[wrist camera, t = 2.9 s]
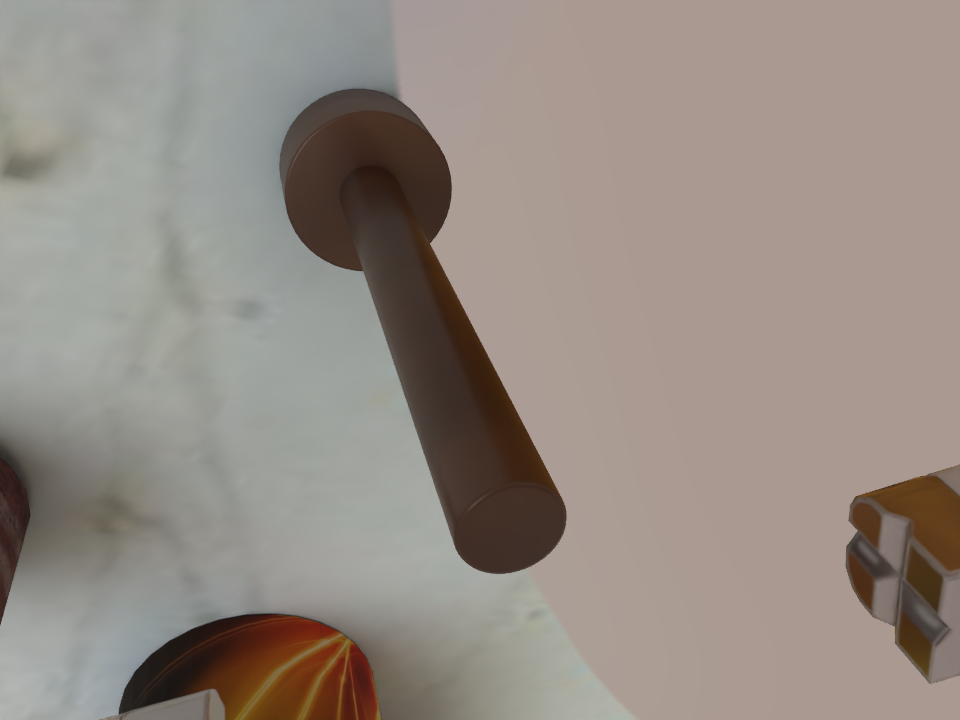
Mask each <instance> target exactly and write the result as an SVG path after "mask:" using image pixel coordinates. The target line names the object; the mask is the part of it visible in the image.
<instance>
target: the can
mask: <svg viewBox="0 0 960 720" xmlns="http://www.w3.org/2000/svg"><path fill="white" fill-rule="evenodd" d="M29 518H30V510H29V505H28V499H27V493H26V489H25V488H24V486H23V485H22V483H21V482H20V480H19V478H18V477H17V475H16V474H15V472H14V471H13V469H12V468H11V466H10V465H9V464H8V463H7V462H6V461H5V460H4V459H3V458H1V457H0V624H1V621H2V617H3V614H4V610H5V606H6V603H7V599H8V595H9V592H10V588H11V584H12V581H13V577H14V573H15V570H16V566H17V563H18V559H19V555H20V552H21V548H22V544H23V541H24V537H25V533H26V529H27V526H28V522H29Z"/></svg>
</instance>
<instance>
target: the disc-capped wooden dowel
mask: <svg viewBox="0 0 960 720" xmlns="http://www.w3.org/2000/svg"><path fill="white" fill-rule="evenodd" d="M280 177H281V182H282V188H283V193H284V199H285V204H286V209H287V214H288V217H289V219H290V222H291V224H292V226H293V228H294V230H295V232H296V234H297V235H298V237H299V238H300V239H301V241H302V242H303V243H304V244H305V245H306V246H307V247H308V248H309V249H310V250H311V251H312V252H313V253H314V254H316V255H317V256H318V257H320V258H322V259H323V260H325V261H327V262H329V263H331V264H333V265H335V266H338V267H342V268H345V269H350V270H355V271H364V274H365V277H366V280H367V283H368V286H369V289H370V292H371V295H372V298H373V301H374V304H375V307H376V310H377V313H378V316H379V319H380V323H381V326H382V329H383V332H384V335H385V338H386V341H387V344H388V347H389V350H390V353H391V356H392V359H393V362H394V365H395V368H396V371H397V374H398V377H399V380H400V383H401V386H402V389H403V392H404V395H405V398H406V401H407V404H408V407H409V410H410V413H411V416H412V419H413V422H414V425H415V428H416V431H417V434H418V437H419V440H420V443H421V446H422V449H423V452H424V455H425V458H426V461H427V464H428V467H429V470H430V473H431V476H432V479H433V482H434V485H435V488H436V491H437V494H438V497H439V500H440V503H441V506H442V509H443V512H444V515H445V518H446V521H447V524H448V527H449V530H450V533H451V536H452V539H453V542H454V545H455V548H456V550H457V552H458V554H459V555H460V557H461V558H462V559H463V560H464V561H465V562H466V563H467V564H469V565H470V566H472V567H473V568H475V569H477V570H480V571H483V572H487V573H493V574H505V573H512V572H516V571H520V570H523V569H526V568H528V567H530V566H532V565H534V564H535V563H537V562H539V561H540V560H542V559H543V558H545V557H546V556H547V555H548V554H549V553H550V552H551V551H552V550H553V549H554V548H555V547H556V545H557V544H558V542H559V541H560V539H561V537H562V535H563V533H564V530H565V526H566V508H565V505H564V502H563V500H562V498H561V496H560V494H559V492H558V490H557V488H556V486H555V484H554V483H553V481H552V479H551V477H550V475H549V473H548V471H547V469H546V467H545V465H544V463H543V461H542V460H541V457H540V455H539V454H538V452H537V450H536V448H535V446H534V444H533V442H532V440H531V438H530V436H529V434H528V432H527V430H526V428H525V426H524V425H523V423H522V421H521V419H520V417H519V415H518V413H517V411H516V409H515V407H514V405H513V404H512V401H511V399H510V398H509V396H508V394H507V392H506V390H505V388H504V386H503V384H502V382H501V380H500V378H499V376H498V374H497V372H496V371H495V369H494V367H493V365H492V363H491V361H490V359H489V357H488V355H487V353H486V351H485V349H484V347H483V345H482V343H481V342H480V340H479V338H478V336H477V334H476V332H475V330H474V328H473V326H472V324H471V322H470V320H469V319H468V316H467V315H466V313H465V311H464V309H463V307H462V305H461V303H460V301H459V299H458V297H457V295H456V293H455V291H454V290H453V287H452V286H451V284H450V282H449V280H448V278H447V276H446V274H445V272H444V270H443V268H442V266H441V264H440V262H439V260H438V259H437V257H436V255H435V253H434V251H433V249H432V247H431V245H430V243H431V242H432V240H433V239H434V238H435V237H436V235H437V234H438V232H439V231H440V229H441V227H442V226H443V223H444V221H445V219H446V217H447V213H448V210H449V207H450V201H451V190H452V185H451V176H450V172H449V168H448V164H447V161H446V159H445V156H444V154H443V153H442V151H441V149H440V147H439V146H438V145H437V143H436V141H435V140H434V139H433V138H432V136H431V134H430V133H429V132H428V130H427V129H426V127H425V126H424V125H423V123H422V122H421V121H420V119H419V118H418V117H417V115H416V114H415V113H414V112H413V111H412V110H411V109H410V108H409V107H407V106H406V105H405V104H403V103H402V102H400V101H399V100H397V99H395V98H394V97H391V96H389V95H387V94H384V93H381V92H377V91H373V90H366V89H350V90H343V91H339V92H335V93H332V94H329V95H327V96H325V97H322V98H320V99H319V100H317V101H315V102H314V103H312V104H311V105H310V106H308V107H307V108H306V109H305V110H304V111H303V112H302V113H301V114H300V115H299V116H298V117H297V118H296V120H295V121H294V122H293V124H292V125H291V127H290V129H289V130H288V132H287V134H286V137H285V139H284V142H283V145H282V149H281V154H280Z"/></svg>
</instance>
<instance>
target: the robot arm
mask: <svg viewBox="0 0 960 720" xmlns="http://www.w3.org/2000/svg"><path fill="white" fill-rule="evenodd" d="M849 522H851V524H852V525H853V526H854V527H855V528H856V529H857V530H858V531H857V533H856V534H855V536H854V537H853V539H852V540H851V541H850V542H849V544H848V545H847V547H846V569H847V572H848V576H849V579H850V582H851V586H852V588H853V590H854V592H855V593H856V595H857V597H858V599H859V600H860V602H861V603H862V605H863V606H864V607H865V608H866V609H867V611H868V612H869V613H870V614H871V615H872V617H874V618H876V619H879V620H881V621H883V622H885V623H888V624H890V625H892V626H895V644H896V645H897V646H898V647H899V649H900V650H901V651H902V652H903V653H904V654H905V656H906V657H907V658H908V659H909V660H910V661H911V663H912V664H913V665H914V666H915V667H916V668H917V669H918V671H919V672H920V673H921V674H922V675H923V676H924V678H926V680H927V681H928V682H929V683H930V684H932V683H935V682H939V681H942V680H945V679H949V678H952V677H956V676H959V675H960V465H957V466H954V467H950V468H947V469H944V470H941V471H937V472H934V473H931V474H928V475H926V476H921V477H917V478H914V479H911V480H907V481H904V482H901V483H898V484H894V485H891V486H888V487H885V488H882V489H879V490H875V491H872V492H869V493H865V494H862V495H859V496H856V497H855V499H854V500H853V502H852V503H851V505H850V512H849ZM100 720H225V707H224V705H223V703H222V701H221V699H220V697H219V695H218V693H217V691H216V690H215V689H208V690H204V691H201V692H197V693H193V694H190V695H186V696H182V697H179V698H175V699H171V700H167V701H164V702H160V703H156V704H153V705H149V706H145V707H142V708H138V709H134V710H131V711H127V712H125V713H122V714H119V715H115V716H111V717H108V718H104V719H100Z"/></svg>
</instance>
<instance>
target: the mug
mask: <svg viewBox="0 0 960 720" xmlns="http://www.w3.org/2000/svg"><path fill="white" fill-rule="evenodd" d="M208 689H215V690H216V691H217V693H218V695H219V697H220V699H221V701H222V703H223V705H224V707H225V720H381V716H380V710H379V705H378V700H377V694H376V689H375V683H374V678H373V672H372V670H371V668H370V665H369V663H368V661H367V658H366V656H365V655H364V654H363V653H362V652H361V650H360V649H359V648H358V647H357V645H356V644H355V643H354V642H352V641H351V640H350V639H348V638H347V637H346V636H344V635H343V634H342V633H340V632H339V631H337V630H335V629H333V628H330V627H328V626H326V625H324V624H322V623H319V622H316V621H312V620H308V619H304V618H300V617H295V616H285V615H274V614H267V615H247V616H240V617H235V618H230V619H225V620H219V621H216V622H213V623H210V624H207V625H204V626H201V627H198V628H196V629H193V630H191V631H189V632H187V633H185V634H183V635H181V636H179V637H177V638H175V639H173V640H171V641H170V642H168V643H167V644H165V645H164V646H163V647H161V648H160V649H159V650H157V651H156V652H155V653H153V654H152V655H151V656H149V658H148V659H147V660H146V661H145V662H144V663H143V664H142V665H141V666H140V667H139V668H138V669H137V670H136V671H135V673H134V674H133V676H132V678H131V680H130V681H129V683H128V685H127V686H126V688H125V690H124V693H123V697H122V700H121V704H120V707H119V714H122V713H125V712H127V711H131V710H134V709H138V708H142V707H145V706H149V705H153V704H156V703H160V702H164V701H167V700H171V699H175V698H179V697H182V696H186V695H190V694H193V693H197V692H201V691H204V690H208Z"/></svg>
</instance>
